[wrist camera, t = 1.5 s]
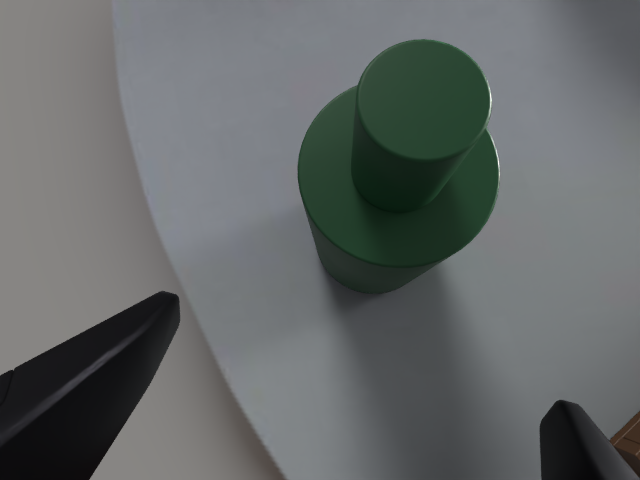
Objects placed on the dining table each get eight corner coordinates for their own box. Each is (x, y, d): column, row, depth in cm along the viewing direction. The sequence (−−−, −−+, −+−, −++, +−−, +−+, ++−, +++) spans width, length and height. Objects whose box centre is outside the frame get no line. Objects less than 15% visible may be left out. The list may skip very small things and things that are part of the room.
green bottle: (403, 313, 22) (513, 292, 8) (296, 264, 22) (229, 168, 9) (447, 208, 23) (613, 29, 9) (343, 164, 23) (350, -63, 10)
